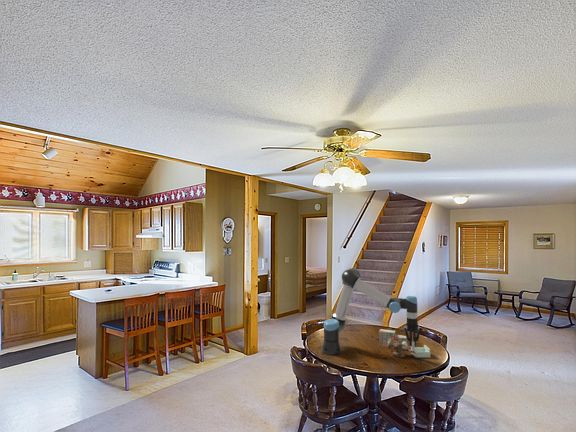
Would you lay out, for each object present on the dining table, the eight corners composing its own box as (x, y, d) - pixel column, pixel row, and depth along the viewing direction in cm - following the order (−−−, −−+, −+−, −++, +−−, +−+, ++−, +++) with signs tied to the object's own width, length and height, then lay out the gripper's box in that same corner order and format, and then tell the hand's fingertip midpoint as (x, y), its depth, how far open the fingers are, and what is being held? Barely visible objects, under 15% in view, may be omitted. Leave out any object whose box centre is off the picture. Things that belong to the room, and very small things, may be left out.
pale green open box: (415, 357, 245) (415, 349, 246) (410, 352, 255) (410, 344, 256) (430, 357, 245) (430, 349, 245) (425, 352, 255) (425, 344, 255)
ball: (406, 347, 249) (402, 345, 249) (405, 346, 253) (400, 344, 253) (408, 343, 249) (404, 341, 249) (406, 341, 253) (402, 340, 253)
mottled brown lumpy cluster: (390, 351, 243) (392, 342, 243) (386, 346, 254) (388, 337, 254) (414, 358, 242) (416, 349, 242) (409, 353, 253) (411, 344, 254)
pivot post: (396, 356, 247) (396, 345, 247) (393, 352, 255) (393, 341, 255) (404, 356, 246) (404, 345, 247) (401, 352, 255) (401, 341, 255)
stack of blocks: (407, 347, 266) (407, 332, 267) (406, 350, 261) (406, 334, 261) (380, 343, 276) (380, 328, 276) (378, 346, 270) (378, 330, 271)
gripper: (404, 318, 242) (405, 352, 241) (423, 319, 242) (423, 352, 240) (401, 316, 249) (402, 348, 248) (419, 316, 249) (420, 348, 248)
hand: (412, 350), depth 244 cm, fingers closed
